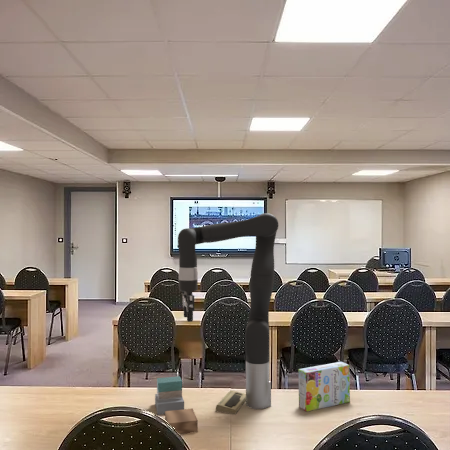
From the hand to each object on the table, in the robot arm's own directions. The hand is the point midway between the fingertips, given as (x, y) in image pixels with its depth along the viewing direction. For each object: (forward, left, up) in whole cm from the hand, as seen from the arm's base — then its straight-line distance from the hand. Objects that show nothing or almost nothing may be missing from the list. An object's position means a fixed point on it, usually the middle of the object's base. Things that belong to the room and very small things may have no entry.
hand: (188, 319), depth 178 cm
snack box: (-52, +15, -33) cm, 63 cm away
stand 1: (+8, +4, -33) cm, 34 cm away
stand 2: (+6, +21, -33) cm, 40 cm away
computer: (-16, +7, -34) cm, 38 cm away
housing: (+8, +4, -29) cm, 30 cm away
